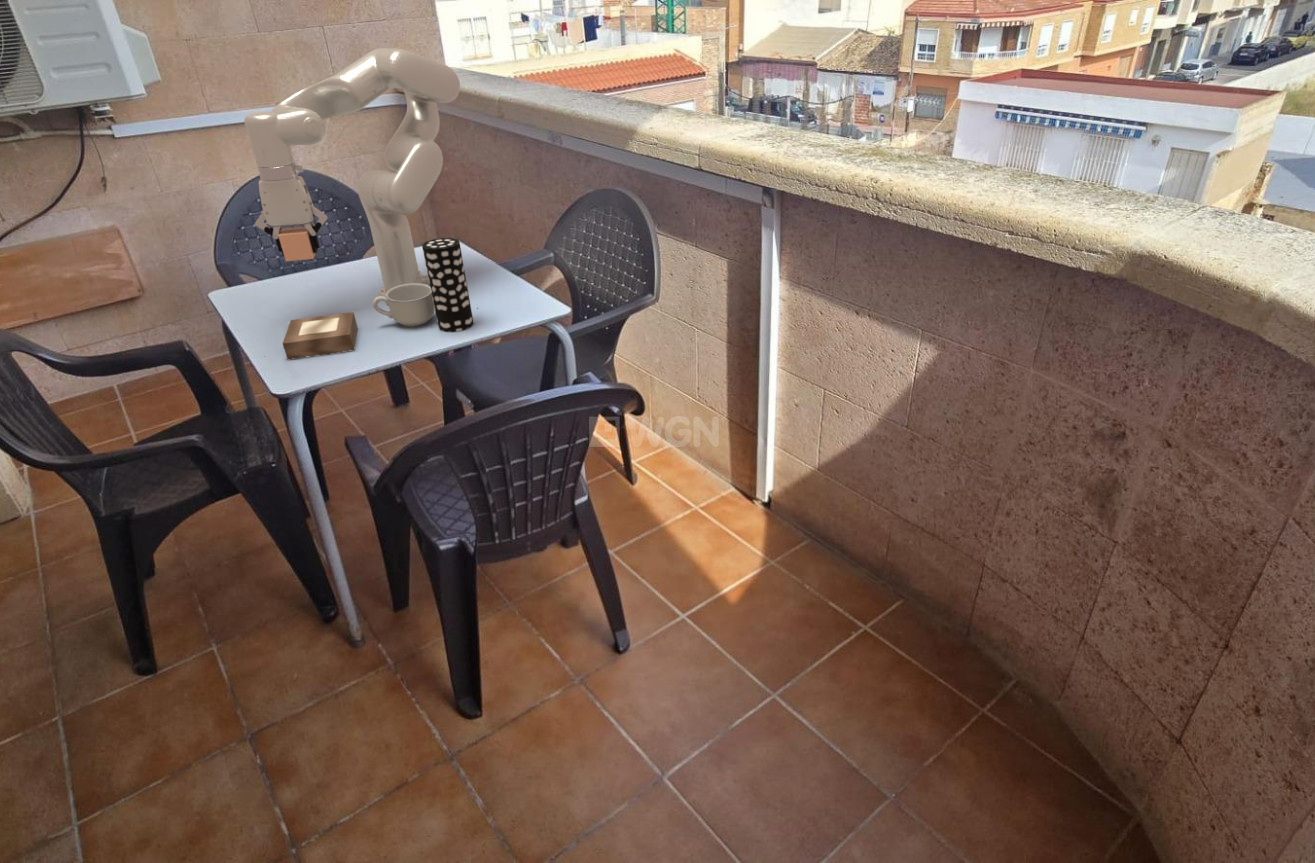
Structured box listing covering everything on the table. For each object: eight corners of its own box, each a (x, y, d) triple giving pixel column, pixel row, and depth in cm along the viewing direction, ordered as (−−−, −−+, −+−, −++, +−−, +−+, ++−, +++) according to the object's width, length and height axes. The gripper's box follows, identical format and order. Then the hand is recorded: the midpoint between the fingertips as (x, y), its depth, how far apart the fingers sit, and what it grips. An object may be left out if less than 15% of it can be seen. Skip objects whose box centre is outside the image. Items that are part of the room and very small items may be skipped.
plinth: (357, 327, 176) (353, 311, 174) (354, 350, 165) (349, 333, 163) (295, 335, 173) (290, 319, 171) (287, 359, 162) (282, 342, 159)
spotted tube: (441, 334, 171) (424, 251, 161) (435, 322, 178) (419, 241, 167) (476, 328, 174) (462, 245, 164) (469, 316, 181) (455, 236, 170)
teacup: (439, 311, 184) (433, 281, 180) (436, 328, 175) (429, 296, 170) (382, 316, 182) (375, 286, 178) (376, 333, 173) (368, 302, 169)
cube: (316, 251, 174) (310, 226, 171) (313, 258, 169) (306, 233, 166) (290, 253, 173) (282, 228, 170) (285, 261, 168) (278, 235, 165)
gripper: (321, 166, 166) (341, 244, 176) (239, 172, 163) (264, 252, 172) (317, 173, 160) (337, 253, 169) (232, 179, 157) (257, 261, 166)
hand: (300, 252), depth 171 cm, fingers closed on cube, 6 cm apart
